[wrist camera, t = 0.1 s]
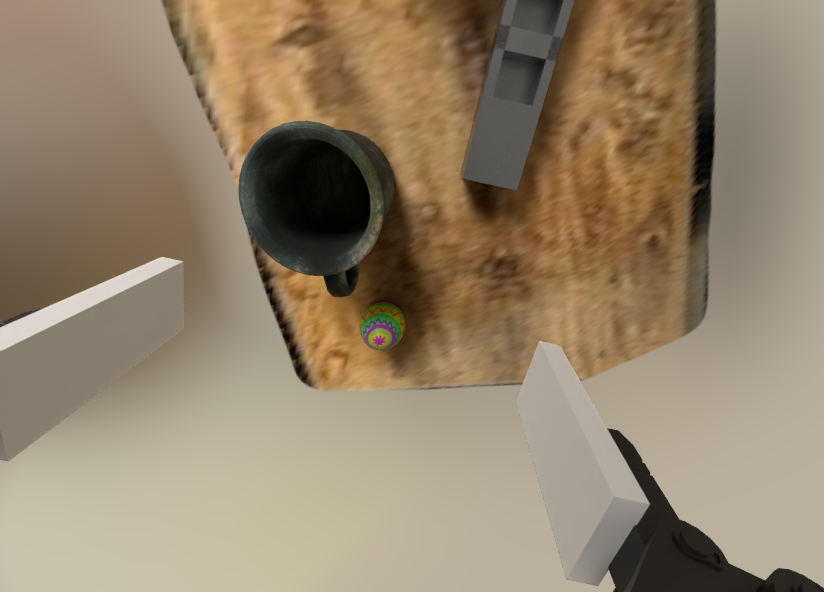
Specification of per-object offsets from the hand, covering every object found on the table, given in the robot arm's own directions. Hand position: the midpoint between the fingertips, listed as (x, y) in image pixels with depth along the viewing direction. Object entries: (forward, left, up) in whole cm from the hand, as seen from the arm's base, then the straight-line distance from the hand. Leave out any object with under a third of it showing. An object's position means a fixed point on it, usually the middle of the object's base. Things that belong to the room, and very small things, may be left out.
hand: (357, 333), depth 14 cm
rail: (-15, +7, -28) cm, 32 cm away
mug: (+1, -6, -28) cm, 29 cm away
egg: (+13, 0, -28) cm, 31 cm away
